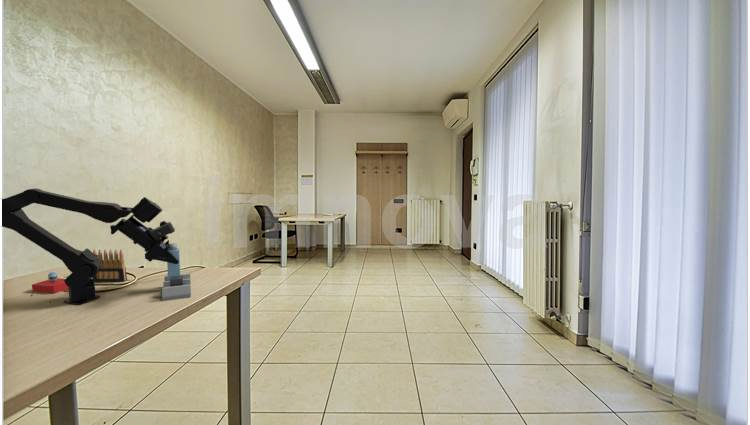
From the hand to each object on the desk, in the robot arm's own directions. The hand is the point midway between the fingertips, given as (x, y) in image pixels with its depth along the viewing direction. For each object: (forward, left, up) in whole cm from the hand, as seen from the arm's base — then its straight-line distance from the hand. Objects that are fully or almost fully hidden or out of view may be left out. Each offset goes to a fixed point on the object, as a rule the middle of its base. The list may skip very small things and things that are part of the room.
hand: (178, 261), depth 118 cm
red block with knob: (-38, -14, -10) cm, 41 cm away
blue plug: (-1, -1, -7) cm, 7 cm away
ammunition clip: (-29, -2, -10) cm, 31 cm away
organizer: (+2, -3, -10) cm, 10 cm away
